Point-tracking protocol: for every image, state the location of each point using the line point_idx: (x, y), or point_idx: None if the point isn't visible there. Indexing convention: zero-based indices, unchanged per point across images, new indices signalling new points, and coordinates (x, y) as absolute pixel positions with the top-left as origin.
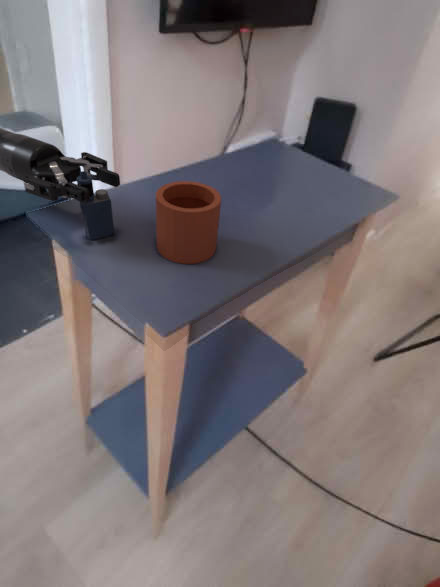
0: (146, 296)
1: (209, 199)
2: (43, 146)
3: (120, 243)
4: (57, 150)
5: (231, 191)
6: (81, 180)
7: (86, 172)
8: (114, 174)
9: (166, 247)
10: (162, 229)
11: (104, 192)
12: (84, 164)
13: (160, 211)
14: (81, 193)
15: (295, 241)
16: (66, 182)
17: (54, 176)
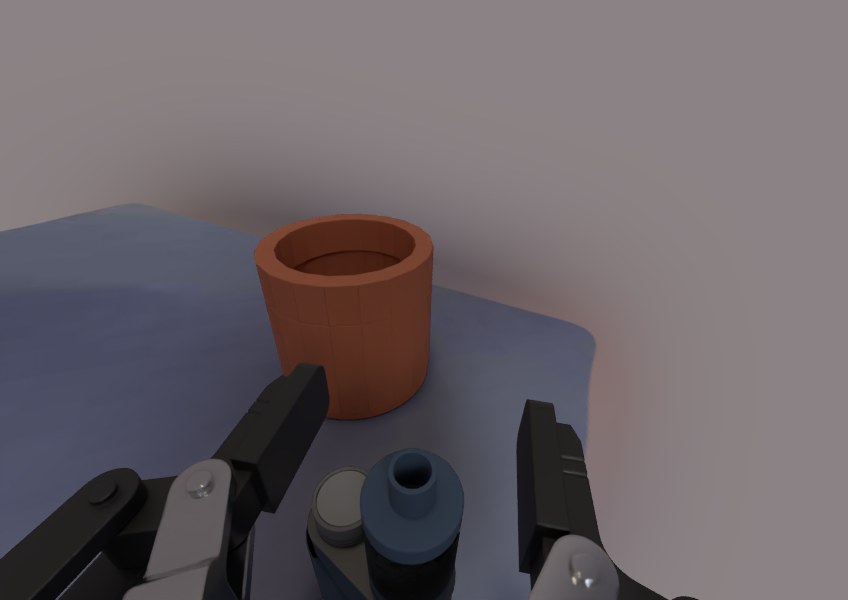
0: (556, 372)
1: (307, 248)
2: None
3: None
4: None
5: (41, 349)
6: (453, 489)
7: (398, 454)
8: (314, 369)
9: (425, 355)
10: (420, 328)
11: (347, 479)
12: (207, 590)
13: (416, 290)
14: (561, 427)
15: None
16: (569, 540)
17: None
